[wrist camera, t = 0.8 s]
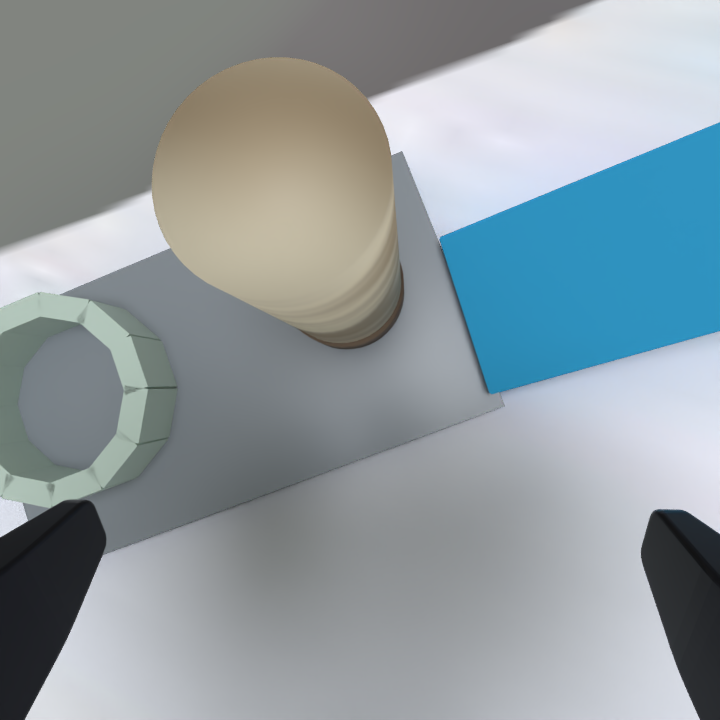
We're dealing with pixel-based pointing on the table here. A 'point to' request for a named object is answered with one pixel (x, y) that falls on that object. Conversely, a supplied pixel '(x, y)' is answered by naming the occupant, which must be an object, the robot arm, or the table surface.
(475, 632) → the table surface
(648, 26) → the table surface
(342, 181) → the birch peg
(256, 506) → the table surface
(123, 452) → the thin grey base plate
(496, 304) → the blue long block
